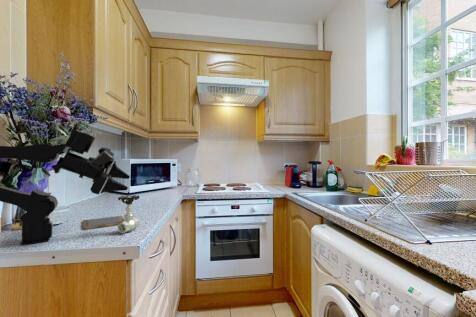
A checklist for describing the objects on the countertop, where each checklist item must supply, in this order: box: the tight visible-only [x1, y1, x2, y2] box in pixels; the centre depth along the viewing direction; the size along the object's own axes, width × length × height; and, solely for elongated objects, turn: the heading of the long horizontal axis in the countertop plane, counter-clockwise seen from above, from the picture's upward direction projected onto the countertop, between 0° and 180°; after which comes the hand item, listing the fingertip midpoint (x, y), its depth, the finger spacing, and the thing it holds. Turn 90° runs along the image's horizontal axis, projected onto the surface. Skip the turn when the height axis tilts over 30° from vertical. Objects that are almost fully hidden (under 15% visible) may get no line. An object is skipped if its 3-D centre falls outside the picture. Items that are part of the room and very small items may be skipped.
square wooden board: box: [82, 215, 125, 231], centre depth 93 cm, size 14×14×1 cm
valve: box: [117, 194, 140, 235], centre depth 82 cm, size 7×7×12 cm
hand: (128, 182), depth 86 cm, fingers open, 9 cm apart
